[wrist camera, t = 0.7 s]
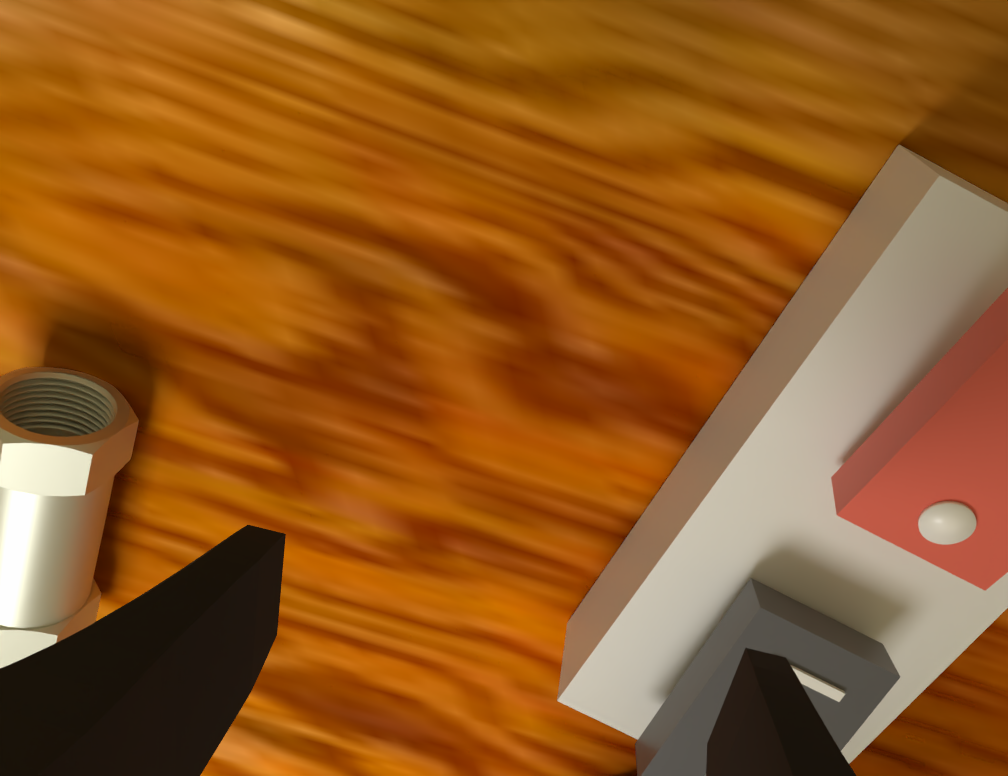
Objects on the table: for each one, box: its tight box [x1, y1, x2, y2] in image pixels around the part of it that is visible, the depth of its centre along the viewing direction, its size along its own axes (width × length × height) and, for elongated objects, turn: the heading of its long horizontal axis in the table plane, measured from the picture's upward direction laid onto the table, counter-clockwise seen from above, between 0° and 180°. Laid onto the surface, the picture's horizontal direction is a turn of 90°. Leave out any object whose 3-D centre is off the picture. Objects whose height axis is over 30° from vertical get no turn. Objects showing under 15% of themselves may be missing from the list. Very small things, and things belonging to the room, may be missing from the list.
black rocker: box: [635, 578, 900, 776], centre depth 20 cm, size 5×3×1 cm, turn 154°
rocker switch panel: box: [557, 145, 1008, 764], centre depth 21 cm, size 15×7×3 cm, turn 154°
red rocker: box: [831, 288, 1008, 591], centre depth 17 cm, size 5×3×1 cm, turn 154°
